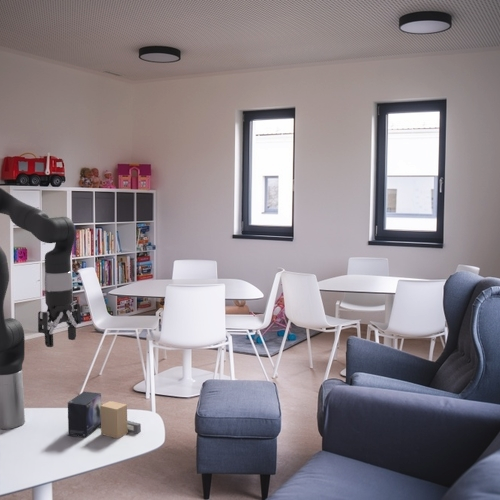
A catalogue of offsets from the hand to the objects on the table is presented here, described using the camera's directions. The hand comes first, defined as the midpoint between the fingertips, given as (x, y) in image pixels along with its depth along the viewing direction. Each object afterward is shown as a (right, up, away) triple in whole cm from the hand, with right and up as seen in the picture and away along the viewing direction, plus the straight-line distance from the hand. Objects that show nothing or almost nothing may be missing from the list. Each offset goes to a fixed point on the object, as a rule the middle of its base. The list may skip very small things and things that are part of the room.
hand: (60, 343), depth 190 cm
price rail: (+11, -28, +17) cm, 35 cm away
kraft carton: (+13, -29, +11) cm, 34 cm away
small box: (+4, -29, +13) cm, 32 cm away
